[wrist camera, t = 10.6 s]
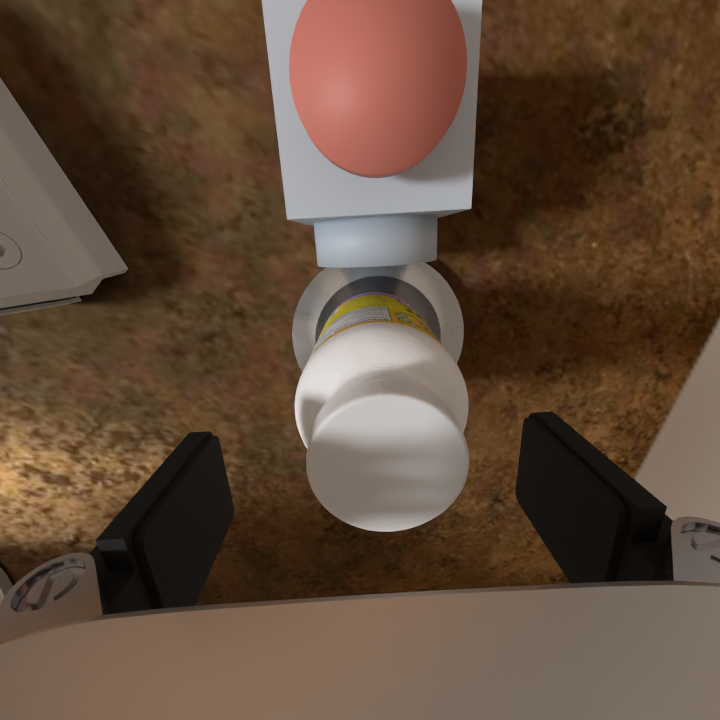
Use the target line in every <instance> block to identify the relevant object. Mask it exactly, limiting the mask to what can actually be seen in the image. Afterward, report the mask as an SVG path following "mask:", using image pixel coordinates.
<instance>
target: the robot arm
mask: <svg viewBox="0 0 720 720" xmlns="http://www.w3.org/2000/svg"><path fill="white" fill-rule="evenodd" d="M516 497H517V500H518V503H519V504H520V506H521V507H522V509H523V511H524V512H525V514H526V515H527V517H528V518H529V520H530V521H531V523H532V525H533V526H534V528H535V529H536V531H537V532H538V534H539V535H540V537H541V538H542V540H543V542H544V543H545V545H546V546H547V548H548V549H549V551H550V552H551V554H552V556H553V557H554V559H555V560H556V562H557V563H558V565H559V566H560V568H561V570H562V571H563V573H564V574H565V576H566V577H567V579H568V580H569V582H570V583H568V584H549V585H530V586H511V587H492V588H473V589H454V590H437V591H420V592H403V593H386V594H369V595H352V596H336V597H320V598H304V599H289V600H274V601H258V602H243V603H228V604H213V605H200V606H195V603H196V601H197V599H198V597H199V594H200V592H201V590H202V587H203V585H204V583H205V581H206V578H207V576H208V574H209V572H210V569H211V567H212V565H213V562H214V560H215V558H216V556H217V553H218V551H219V549H220V546H221V544H222V542H223V540H224V537H225V535H226V533H227V530H228V528H229V526H230V524H231V521H232V519H233V513H234V508H233V502H232V498H231V493H230V488H229V484H228V479H227V474H226V470H225V465H224V460H223V456H222V451H221V446H220V442H219V438H218V437H217V436H213V434H212V433H211V432H210V431H209V432H192V433H189V434H188V435H187V436H186V437H185V438H184V439H183V441H182V442H181V443H180V444H179V445H178V446H177V447H176V449H175V450H174V451H173V452H172V453H171V454H170V456H169V457H168V458H167V459H166V460H165V461H164V462H163V464H162V465H161V466H160V467H159V468H158V469H157V470H156V472H155V473H154V474H153V475H152V476H151V477H150V478H149V480H148V481H147V482H146V483H145V484H144V485H143V487H142V488H141V489H140V490H139V491H138V492H137V493H136V495H135V496H134V497H133V498H132V499H131V500H130V501H129V503H128V504H127V505H126V506H125V507H124V508H123V509H122V511H121V512H120V513H119V514H118V515H117V516H116V517H115V519H114V520H113V521H112V522H111V523H110V524H109V526H108V527H107V528H106V529H105V530H104V531H103V532H102V534H101V535H100V536H99V537H98V538H97V539H96V542H97V546H96V547H95V548H94V549H93V551H92V552H91V553H90V554H87V553H77V552H75V553H71V554H66V555H62V556H60V557H57V558H55V559H52V560H50V561H48V562H46V563H44V564H42V565H40V566H39V567H37V568H35V569H34V570H32V571H31V572H30V573H28V574H27V575H25V576H24V577H22V578H21V579H20V580H19V581H18V582H17V583H16V584H15V585H14V586H13V585H12V583H11V581H10V579H9V577H8V576H7V574H6V573H5V572H4V570H3V569H2V568H1V567H0V720H720V523H717V522H715V521H711V520H707V519H703V518H697V517H681V518H678V519H676V520H674V521H672V520H671V519H670V518H669V517H668V516H666V515H665V511H666V508H667V507H666V506H665V505H664V504H663V503H662V502H660V501H659V500H658V499H657V498H656V497H654V496H653V495H652V494H651V493H649V492H648V491H647V490H646V489H645V488H644V487H642V486H641V485H640V484H639V483H638V482H636V481H635V480H634V479H633V478H632V477H630V476H629V475H628V474H627V473H626V472H624V471H623V470H622V469H621V468H620V467H618V466H617V465H616V464H615V463H614V462H612V461H611V460H610V459H609V458H608V457H606V456H605V455H604V454H603V453H602V452H600V451H599V450H598V449H597V448H596V447H594V446H593V445H592V444H591V443H590V442H588V441H587V440H586V439H585V438H584V437H582V436H581V435H580V434H579V433H578V432H576V431H575V430H574V429H573V428H572V427H570V426H569V425H568V424H567V423H566V422H564V421H563V420H562V419H561V418H559V417H558V416H557V415H556V414H555V413H553V412H538V413H531V414H530V416H529V418H525V420H524V423H523V431H522V439H521V448H520V457H519V466H518V475H517V483H516Z"/></svg>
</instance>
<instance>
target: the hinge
mask: <svg viewBox="0 0 720 720" xmlns="http://www.w3.org/2000/svg"><path fill="white" fill-rule="evenodd" d="M127 270H128V267H127V266H126V264H125V263H124V261H123V260H122V258H121V257H120V255H119V254H118V252H117V251H116V249H115V248H114V246H113V245H112V244H111V242H110V241H109V239H108V238H107V236H106V235H105V233H104V232H103V230H102V229H101V227H100V226H99V224H98V223H97V221H96V220H95V218H94V217H93V215H92V214H91V212H90V211H89V209H88V208H87V206H86V205H85V203H84V202H83V200H82V199H81V197H80V196H79V194H78V193H77V191H76V190H75V188H74V187H73V185H72V184H71V182H70V181H69V179H68V178H67V176H66V175H65V173H64V172H63V170H62V169H61V167H60V166H59V164H58V163H57V161H56V160H55V158H54V157H53V155H52V154H51V152H50V151H49V149H48V148H47V146H46V145H45V143H44V142H43V140H42V139H41V137H40V136H39V135H38V133H37V132H36V130H35V129H34V127H33V126H32V124H31V123H30V121H29V120H28V118H27V117H26V115H25V114H24V112H23V111H22V109H21V108H20V106H19V105H18V103H17V102H16V100H15V99H14V97H13V96H12V94H11V93H10V91H9V90H8V88H7V87H6V85H5V84H4V82H3V81H2V79H1V78H0V316H1V315H7V314H13V313H19V312H25V311H30V310H36V309H42V308H48V307H54V306H60V305H65V304H71V303H75V302H80V301H82V300H81V299H80V297H79V296H81V295H88V294H92V293H93V292H94V290H95V289H96V287H97V286H98V285H99V283H100V282H101V280H102V279H104V278H108V277H111V276H115V275H119V274H123V273H125V272H126V271H127Z"/></svg>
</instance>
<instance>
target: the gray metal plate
mask: <svg viewBox="0 0 720 720" xmlns="http://www.w3.org/2000/svg"><path fill="white" fill-rule="evenodd" d="M371 292H379V293H386V294H390V295H393V296H396V297H398V298H400V299H402V300H404V301H405V302H407V303H408V304H409V305H411V306H412V307H413V308H414V309H415V310H416V311H417V312H418V313H419V315H420V316H421V317H422V319H423V320H424V321H425V322H426V324H427V325H428V326H429V328H430V329H431V330H432V332H433V333H434V334H435V336H436V337H437V338H438V340H439V341H440V342H441V344H442V345H443V346H444V347H445V349H446V350H447V351H448V352H449V354H450V355H451V357H452V358H453V360H454V361H455V362H456V364H457V362H458V360H459V357H460V354H461V350H462V346H463V338H464V324H463V317H462V312H461V309H460V306H459V303H458V300H457V298H456V296H455V294H454V292H453V290H452V289H451V287H450V286H449V284H448V283H447V282H446V281H445V279H444V278H443V277H442V276H441V275H440V274H439V273H438V272H437V271H436V270H434V269H433V268H432V267H431V266H429V265H428V264H426V263H416V264H407V265H394V266H378V267H351V268H332V267H326V268H325V269H324V270H322V271H321V272H320V273H319V274H318V275H317V276H316V277H315V278H314V279H313V280H312V281H311V283H310V284H309V285H308V287H307V288H306V289H305V291H304V293H303V295H302V297H301V298H300V300H299V303H298V306H297V308H296V311H295V316H294V320H293V330H292V337H293V347H294V352H295V356H296V359H297V362H298V365H299V367H300V369H301V371H302V373H303V370H304V368H305V366H306V364H307V362H308V360H309V358H310V356H311V354H312V352H313V349H314V347H315V345H316V343H317V341H318V338H319V336H320V334H321V332H322V330H323V328H324V326H325V324H326V322H327V320H328V318H329V317H330V316H331V314H332V313H333V312H334V311H335V309H336V308H337V307H338V306H340V305H341V304H342V303H343V302H345V301H346V300H348V299H350V298H352V297H355V296H357V295H360V294H364V293H371Z"/></svg>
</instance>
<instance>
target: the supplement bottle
mask: <svg viewBox="0 0 720 720" xmlns="http://www.w3.org/2000/svg"><path fill="white" fill-rule="evenodd" d="M295 417H296V422H297V427H298V430H299V433H300V435H301V438H302V440H303V442H304V444H305V446H306V447H307V455H306V470H307V476H308V480H309V483H310V486H311V489H312V491H313V492H314V494H315V496H316V497H317V499H318V500H319V501H320V503H321V504H322V505H323V506H324V507H325V508H326V509H327V510H328V511H329V512H330V513H331V514H332V515H334V516H335V517H337V518H339V519H340V520H342V521H344V522H346V523H348V524H350V525H352V526H355V527H359V528H362V529H365V530H370V531H380V532H393V531H400V530H405V529H409V528H413V527H416V526H419V525H421V524H424V523H426V522H428V521H430V520H432V519H433V518H435V517H436V516H438V515H440V514H441V513H442V512H444V511H445V510H446V509H447V508H448V507H449V506H450V505H451V504H452V503H453V502H454V501H455V500H456V498H457V497H458V495H459V494H460V492H461V490H462V488H463V486H464V484H465V481H466V479H467V475H468V470H469V451H468V447H467V443H466V440H465V437H464V435H463V432H464V429H465V426H466V422H467V417H468V393H467V388H466V384H465V381H464V378H463V376H462V374H461V371H460V369H459V367H458V366H457V364H456V362H455V361H454V360H453V358H452V357H451V355H450V354H449V352H448V351H447V350H446V349H445V347H444V346H443V345H442V344H441V342H440V341H439V340H438V338H437V337H436V336H435V334H434V333H433V332H432V330H431V329H430V328H429V326H428V325H427V324H426V322H425V321H424V320H423V319H422V317H421V316H420V315H419V313H418V312H417V311H416V310H415V309H414V308H413V307H412V306H411V305H409V304H408V303H407V302H405V301H404V300H402V299H400V298H398V297H396V296H393V295H390V294H386V293H379V292H371V293H364V294H360V295H357V296H355V297H352V298H350V299H348V300H346V301H345V302H343V303H342V304H341V305H340V306H338V307H337V308H336V309H335V311H334V312H333V313H332V314H331V316H330V317H329V318H328V320H327V322H326V324H325V326H324V328H323V330H322V332H321V334H320V336H319V338H318V341H317V343H316V345H315V347H314V349H313V352H312V354H311V356H310V358H309V360H308V362H307V364H306V366H305V368H304V370H303V373H302V375H301V377H300V380H299V383H298V386H297V391H296V396H295Z"/></svg>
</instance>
